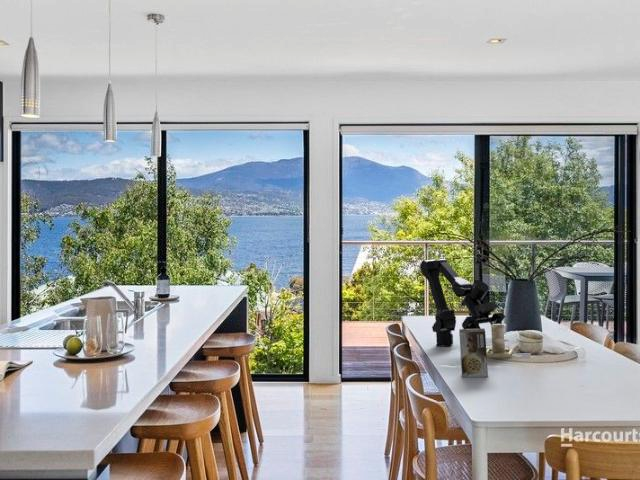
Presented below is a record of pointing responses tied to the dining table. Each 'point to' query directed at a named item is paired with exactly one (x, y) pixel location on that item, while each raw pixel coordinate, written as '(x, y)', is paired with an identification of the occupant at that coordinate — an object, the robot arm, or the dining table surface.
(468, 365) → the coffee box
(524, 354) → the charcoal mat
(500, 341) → the disc
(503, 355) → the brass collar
